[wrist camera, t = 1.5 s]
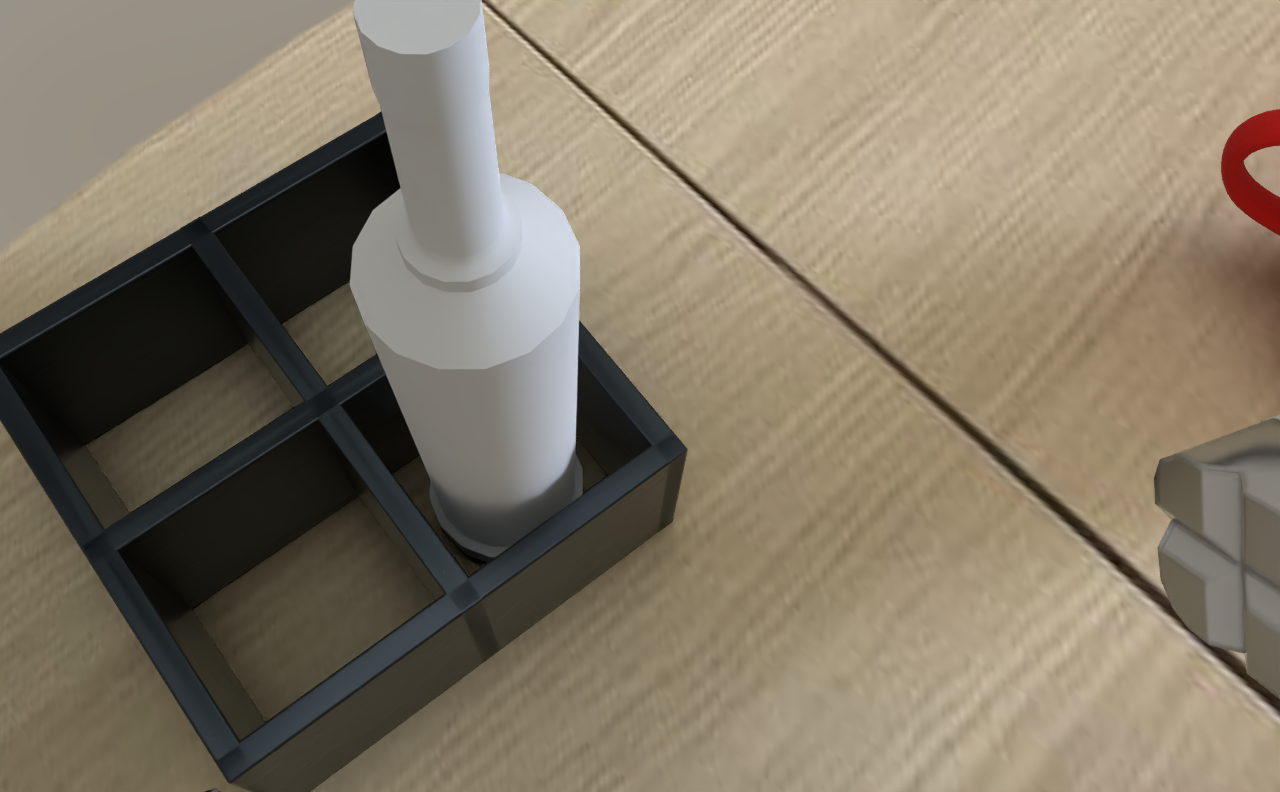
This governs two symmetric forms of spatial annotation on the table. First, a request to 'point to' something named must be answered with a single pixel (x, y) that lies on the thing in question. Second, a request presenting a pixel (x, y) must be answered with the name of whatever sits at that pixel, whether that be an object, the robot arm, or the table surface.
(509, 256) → the bottle
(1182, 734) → the table surface
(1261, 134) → the ceramic cup
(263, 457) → the rack
